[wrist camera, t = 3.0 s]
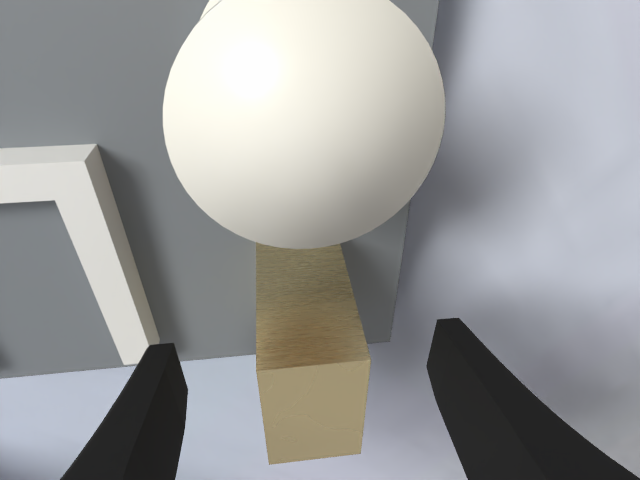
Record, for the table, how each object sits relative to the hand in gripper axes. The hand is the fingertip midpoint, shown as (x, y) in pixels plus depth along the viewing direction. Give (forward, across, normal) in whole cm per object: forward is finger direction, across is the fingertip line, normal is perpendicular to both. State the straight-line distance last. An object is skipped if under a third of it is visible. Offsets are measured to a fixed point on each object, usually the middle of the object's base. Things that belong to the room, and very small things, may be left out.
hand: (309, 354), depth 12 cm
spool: (+3, 0, -7) cm, 8 cm away
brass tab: (+3, 0, 0) cm, 3 cm away
